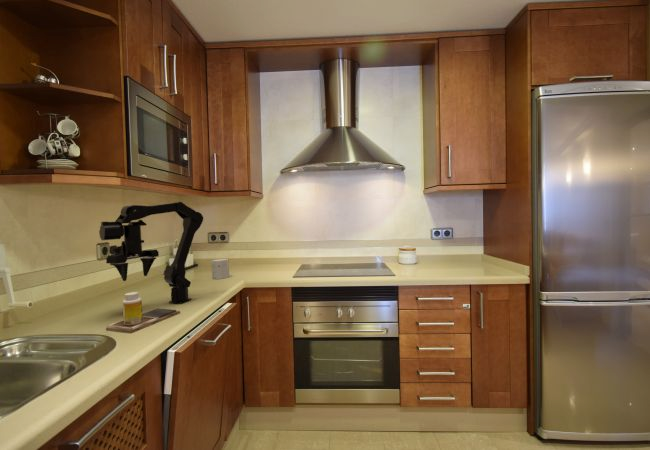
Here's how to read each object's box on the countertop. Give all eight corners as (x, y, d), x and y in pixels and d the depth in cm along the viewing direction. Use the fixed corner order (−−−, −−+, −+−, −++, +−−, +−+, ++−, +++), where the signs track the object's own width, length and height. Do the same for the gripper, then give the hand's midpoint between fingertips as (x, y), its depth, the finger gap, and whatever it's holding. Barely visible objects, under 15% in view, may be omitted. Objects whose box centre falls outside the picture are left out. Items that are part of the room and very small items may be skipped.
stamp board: (157, 311, 130) (157, 307, 130) (180, 313, 127) (180, 309, 126) (106, 330, 111) (105, 325, 110) (131, 333, 107) (130, 328, 107)
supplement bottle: (145, 322, 114) (143, 292, 114) (127, 327, 110) (125, 296, 110) (139, 319, 118) (137, 290, 117) (121, 323, 114) (119, 293, 113)
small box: (224, 276, 196) (224, 258, 196) (229, 277, 192) (228, 259, 192) (211, 278, 191) (210, 260, 190) (216, 279, 187) (215, 261, 186)
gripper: (138, 236, 141) (140, 273, 141) (94, 240, 123) (96, 282, 124) (158, 235, 137) (160, 274, 138) (116, 240, 119) (119, 284, 120)
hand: (135, 278), depth 130 cm, fingers open, 9 cm apart
